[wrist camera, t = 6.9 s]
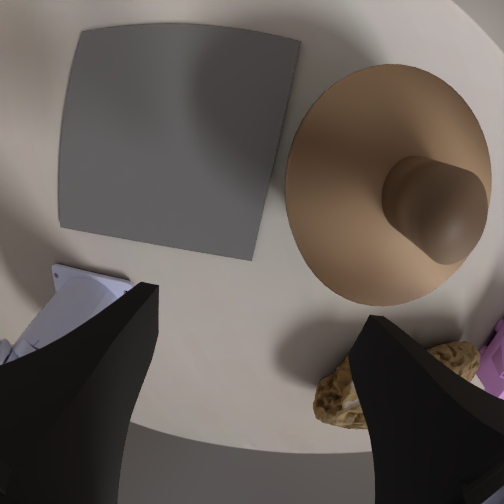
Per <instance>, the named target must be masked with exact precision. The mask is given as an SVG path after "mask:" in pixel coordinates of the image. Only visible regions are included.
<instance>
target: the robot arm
mask: <svg viewBox="0 0 504 504" xmlns="http://www.w3.org/2000/svg"><path fill="white" fill-rule="evenodd" d="M57 274H58V275H57ZM52 275H53V280H54V286H55V291H56V293H55V294H54V296H53V297H52V298H51V299H50V300H49V301H48V302H47V304H46V305H45V306H44V307H43V308H42V310H41V311H40V312H39V313H38V314H37V316H36V317H35V318H34V319H33V320H32V322H31V323H30V324H29V325H28V327H27V328H26V329H25V331H24V332H23V333H22V334H21V336H20V337H19V338H18V340H17V341H16V342H15V344H13V345H12V346H11V344H10V343H9V341H8V340H7V339H3V340H2V339H0V504H117V499H118V488H119V478H120V469H121V462H122V457H123V451H124V446H125V440H126V435H127V431H128V426H129V422H130V419H131V415H132V412H133V409H134V406H135V403H136V401H137V398H138V395H139V392H140V390H141V387H142V384H143V382H144V379H145V376H146V374H147V371H148V368H149V366H150V363H151V360H152V357H153V353H154V349H155V345H156V341H157V337H158V333H159V331H158V307H159V285H155V284H150V283H145V282H140V283H138V284H137V285H136V286H134V287H133V284H132V283H131V282H130V281H128V280H124V279H120V278H115V277H111V276H106V275H102V274H97V273H93V272H89V271H85V270H80V269H76V268H72V267H68V266H64V265H60V264H54V265H53V266H52ZM125 290H126V291H127V292H125ZM348 360H349V366H350V371H351V376H352V381H353V384H354V387H355V390H356V393H357V396H358V399H359V402H360V405H361V408H362V412H363V415H364V418H365V421H366V424H367V427H368V431H369V435H370V440H371V446H372V453H373V460H374V471H375V504H504V400H503V399H500V398H498V397H496V396H494V395H492V394H490V393H488V392H486V391H484V390H482V389H480V388H478V387H477V386H475V385H473V384H472V383H470V382H468V381H467V380H465V379H464V378H462V377H461V376H459V375H458V374H456V373H455V372H453V371H452V370H451V369H449V368H448V367H447V366H445V365H444V364H443V363H442V362H440V361H439V360H438V359H436V358H435V357H434V356H433V355H431V354H430V353H429V352H428V351H427V350H425V349H424V348H423V347H422V346H421V345H419V344H418V343H417V342H416V341H415V340H413V339H412V338H411V337H410V336H409V335H407V334H406V333H405V332H404V331H403V330H401V329H400V328H399V327H398V326H396V325H395V324H394V323H392V322H391V321H390V320H388V319H387V318H385V317H383V316H375V315H369V317H368V319H367V321H366V323H365V325H364V327H363V329H362V331H361V333H360V334H359V336H358V338H357V340H356V342H355V344H354V345H353V347H352V349H351V351H350V353H349V354H348Z"/></svg>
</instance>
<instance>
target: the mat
mask: <svg viewBox="0 0 504 504" xmlns="http://www.w3.org/2000/svg"><path fill="white" fill-rule="evenodd" d="M300 43H301V41H298V40H294V39H290V38H285V37H281V36H277V35H272V34H267V33H262V32H256V31H250V30H244V29H237V28H229V27H220V26H209V25H194V24H143V25H128V26H118V27H109V28H102V29H95V30H89V31H83V32H82V34H81V37H80V41H79V44H78V48H77V51H76V55H75V59H74V63H73V67H72V72H71V76H70V81H69V86H68V92H67V97H66V104H65V110H64V118H63V126H62V136H61V148H60V166H59V209H60V227H62V228H68V229H73V230H78V231H84V232H89V233H95V234H100V235H106V236H111V237H117V238H122V239H128V240H133V241H139V242H144V243H150V244H156V245H161V246H167V247H173V248H178V249H184V250H190V251H196V252H201V253H207V254H213V255H219V256H225V257H231V258H236V259H242V260H248V261H252V257H253V253H254V249H255V244H256V240H257V235H258V231H259V226H260V222H261V218H262V213H263V209H264V204H265V200H266V195H267V191H268V186H269V182H270V178H271V173H272V169H273V164H274V160H275V155H276V151H277V146H278V142H279V137H280V133H281V128H282V124H283V119H284V115H285V111H286V106H287V102H288V97H289V93H290V88H291V84H292V79H293V75H294V70H295V66H296V61H297V57H298V52H299V48H300Z"/></svg>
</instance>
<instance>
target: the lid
mask: <svg viewBox="0 0 504 504" xmlns="http://www.w3.org/2000/svg"><path fill="white" fill-rule="evenodd" d="M490 196H491V163H490V156H489V151H488V147H487V143H486V140H485V137H484V134H483V131H482V129H481V127H480V125H479V122H478V120H477V119H476V117H475V115H474V113H473V112H472V110H471V108H470V107H469V106H468V105H467V103H466V102H465V101H464V99H463V98H462V97H461V96H460V95H459V94H458V93H457V92H456V91H455V90H454V89H453V88H452V87H451V86H450V85H448V84H447V83H446V82H444V81H443V80H442V79H440V78H438V77H437V76H435V75H433V74H431V73H429V72H427V71H424V70H421V69H419V68H416V67H411V66H406V65H399V64H385V65H378V66H372V67H369V68H366V69H363V70H360V71H357V72H355V73H353V74H350V75H349V76H347V77H345V78H343V79H341V80H340V81H338V82H336V83H335V84H334V85H332V86H331V87H330V88H329V89H328V90H326V91H325V92H324V93H323V94H322V95H321V96H320V97H319V98H318V99H317V101H316V102H315V103H314V104H313V105H312V106H311V108H310V109H309V111H308V112H307V114H306V115H305V117H304V118H303V120H302V122H301V124H300V126H299V128H298V130H297V132H296V135H295V137H294V140H293V143H292V146H291V149H290V152H289V156H288V162H287V167H286V173H285V201H286V211H287V216H288V220H289V225H290V228H291V231H292V234H293V236H294V239H295V242H296V244H297V247H298V249H299V251H300V253H301V255H302V256H303V258H304V260H305V262H306V264H307V265H308V266H309V268H310V269H311V271H312V272H313V273H314V275H315V276H316V277H317V278H318V279H319V280H320V281H321V282H322V283H323V284H324V285H325V286H327V287H328V288H329V289H331V290H332V291H333V292H335V293H336V294H338V295H340V296H342V297H344V298H345V299H348V300H350V301H353V302H356V303H359V304H364V305H370V306H391V305H398V304H402V303H407V302H409V301H412V300H415V299H418V298H420V297H422V296H424V295H426V294H428V293H430V292H431V291H433V290H434V289H436V288H437V287H439V286H440V285H441V284H443V283H444V282H445V281H446V280H448V279H449V278H450V277H451V276H452V275H453V274H454V273H455V272H456V271H457V270H458V269H459V267H460V266H461V265H462V264H463V262H464V261H465V260H466V258H467V257H468V256H469V254H470V252H471V251H472V250H473V249H474V248H475V246H476V245H477V243H478V241H479V240H480V238H481V236H482V233H483V231H484V228H485V225H486V220H487V214H488V208H489V203H490Z"/></svg>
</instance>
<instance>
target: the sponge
mask: <svg viewBox="0 0 504 504" xmlns="http://www.w3.org/2000/svg"><path fill="white" fill-rule="evenodd" d="M427 351H428V352H429V353H430V354H431V355H433V356H434V357H435V358H436V359H438V360H439V361H440V362H442V363H443V364H444V365H445V366H447V367H448V368H449V369H451V370H452V371H453V372H455V373H456V374H458V375H459V376H461V377H462V378H464V379H465V380H467V381H468V382H471V380H472V378H473V377H474V376H475V374H476V371H477V370H478V368H479V365H480V364H479V361H480V353H479V351H478V350H477V348H476V346H475V345H472V344H471V343H469V342H466V341H465V342H459V341H455V342H450V343H448V344H442V345H437V346H435V347H432V348H429V349H427ZM313 410H314V413H315V415H316V419H318V420H320V421H321V422H323V423H326V424H331V425H334V426H339V427H343V428H347V429H351V428H353V429H368V427H367V424H366V421H365V418H364V415H363V412H362V408H361V405H360V402H359V399H358V396H357V393H356V390H355V387H354V384H353V381H352V376H351V371H350V366H349V360H348V355H347V357H346V359H345V360H344V361H343V362H342V363H341V364H340V365H339V366H337V368H336V372H334V373H333V374H331V375H328V376H327V377H325V378H323V379H322V380H321V381H320V383H319V385H318V386H317V390H316V394H315V400H314V402H313Z"/></svg>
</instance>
